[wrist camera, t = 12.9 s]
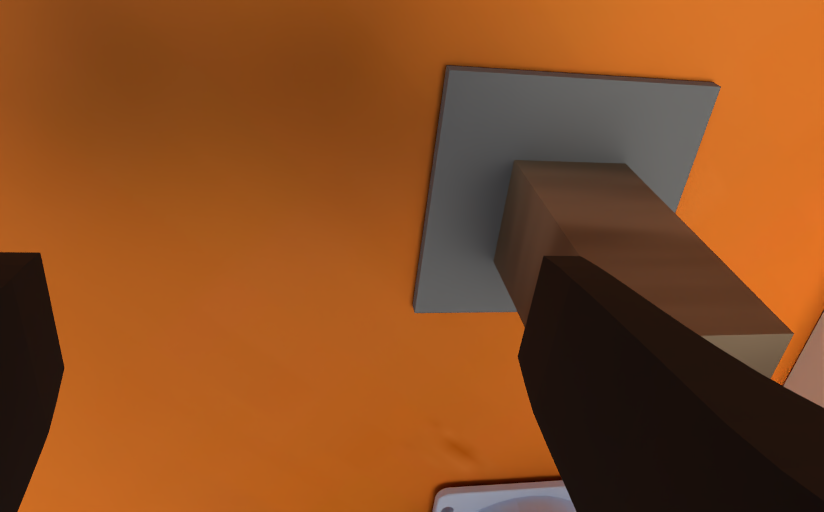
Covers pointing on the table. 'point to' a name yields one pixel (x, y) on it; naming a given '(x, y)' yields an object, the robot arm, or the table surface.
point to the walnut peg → (630, 253)
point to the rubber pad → (539, 141)
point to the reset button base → (810, 368)
